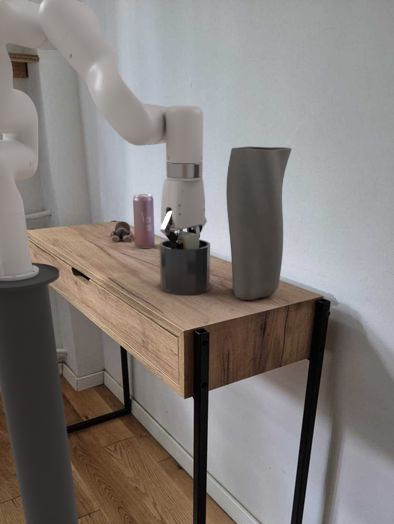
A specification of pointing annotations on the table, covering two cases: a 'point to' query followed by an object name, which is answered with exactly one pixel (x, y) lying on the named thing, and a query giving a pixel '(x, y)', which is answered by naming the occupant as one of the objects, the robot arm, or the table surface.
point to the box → (190, 240)
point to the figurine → (121, 232)
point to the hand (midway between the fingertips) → (184, 257)
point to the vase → (256, 218)
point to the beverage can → (143, 220)
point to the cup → (184, 269)
